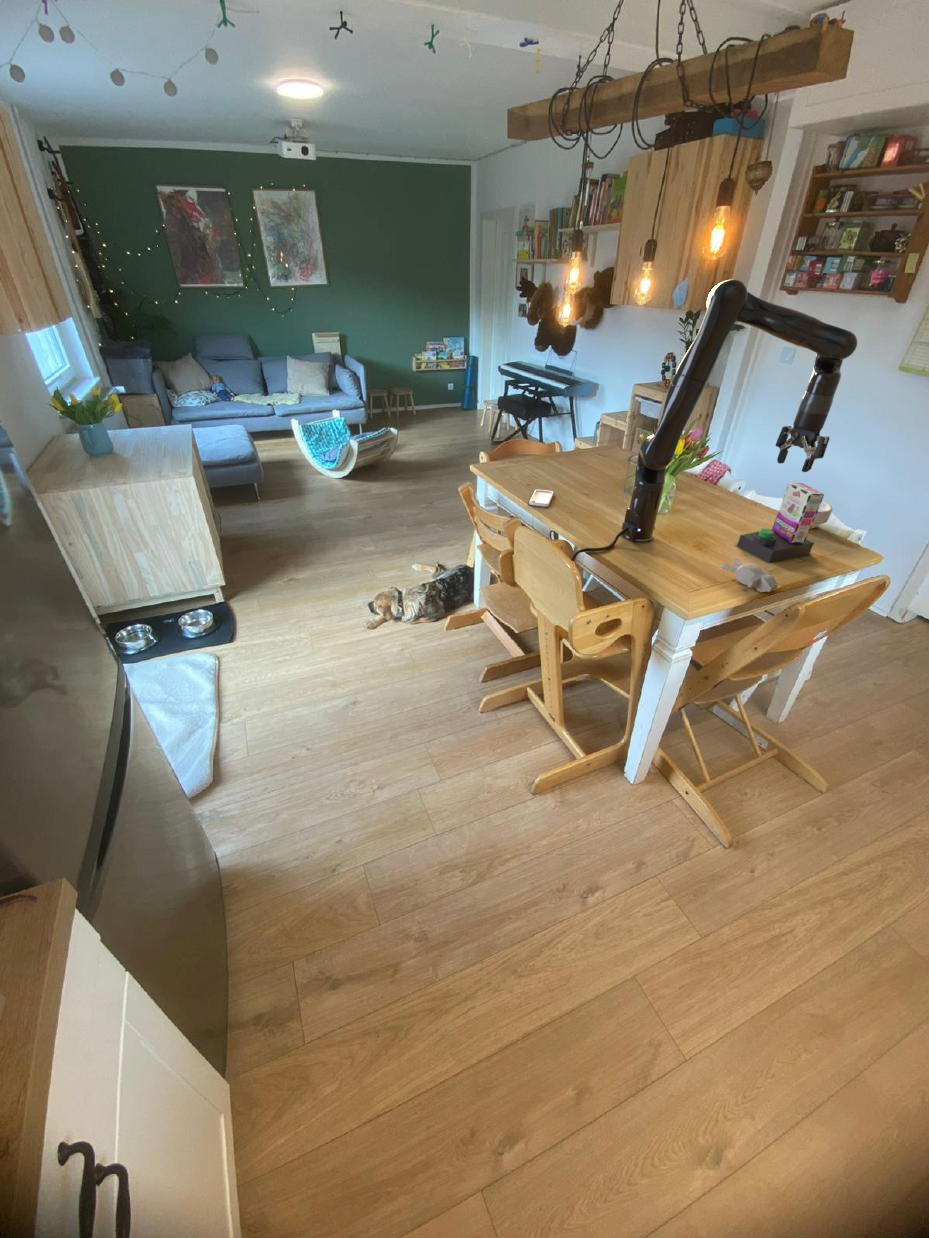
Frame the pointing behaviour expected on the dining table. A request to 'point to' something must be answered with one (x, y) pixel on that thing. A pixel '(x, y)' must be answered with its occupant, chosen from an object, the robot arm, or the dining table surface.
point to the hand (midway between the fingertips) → (792, 467)
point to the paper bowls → (822, 514)
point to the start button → (766, 533)
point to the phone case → (541, 498)
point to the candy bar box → (797, 512)
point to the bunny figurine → (752, 576)
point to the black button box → (773, 547)
